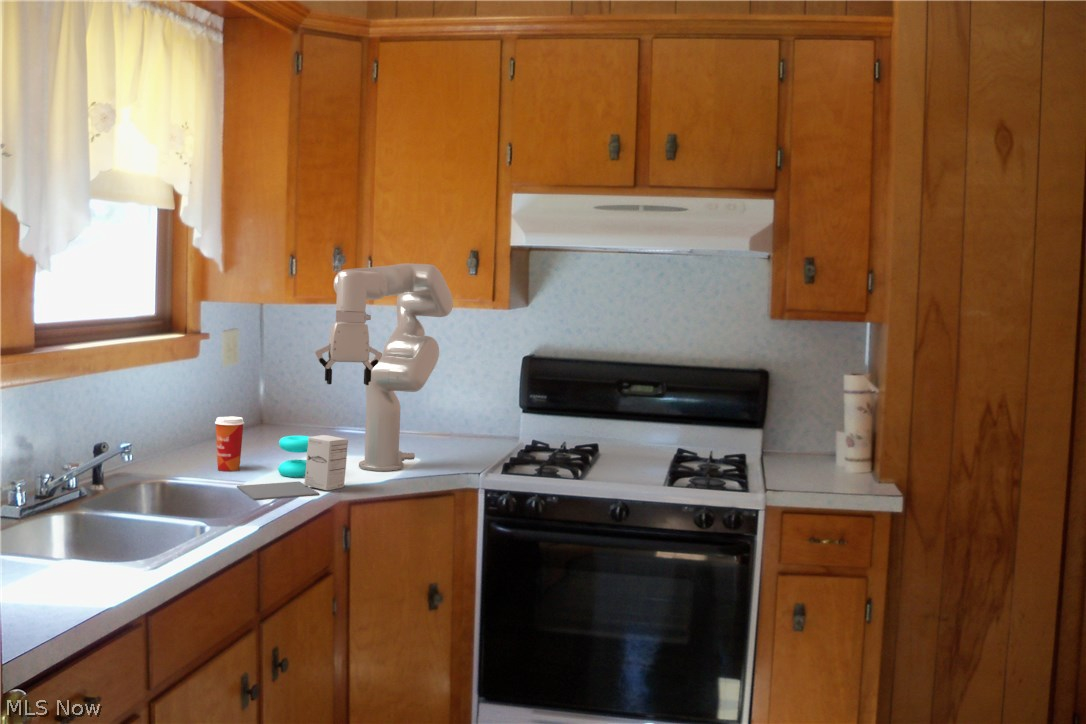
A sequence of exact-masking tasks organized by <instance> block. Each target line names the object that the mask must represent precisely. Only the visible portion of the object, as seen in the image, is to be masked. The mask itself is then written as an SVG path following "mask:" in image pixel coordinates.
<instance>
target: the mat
mask: <svg viewBox="0 0 1086 724" xmlns="http://www.w3.org/2000/svg"><path fill="white" fill-rule="evenodd" d="M236 489H238V490H240V491H241V492H242V493H244V494H245V495H246V496H248V497H249V498H251V499H252V500H253V501H260V500H272V499H274V500H275V499H286V498H296V497H299V498H300V497H308V496H309V497H313V496H320V492H318V491H316V490H314V489H313V488H312V487H310V486H305V483H303V482H301V481H286V482H273V483H272V482H271V483H257V484H245V485H244V484H243V485H237V486H236Z"/></svg>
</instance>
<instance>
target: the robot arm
mask: <svg viewBox="0 0 1086 724" xmlns="http://www.w3.org/2000/svg"><path fill="white" fill-rule="evenodd" d="M333 290H334V292H335V294H336V304H335V305H336V307H335V322H332V323H331V328H330V333H329V339H328V340H329V341H328V344H327V345H325V346H323V347H321V348H319V349H317V350H315V352H314V354H315V356H316V359H317V360H318V362H319V363H320V365H322V367H324V381H325V382H326V384H327V385H332V381H333V379H332V378H333V369H332V366H334V364H335V363H362V364H363V365H364V367H363V384H364V385H365V392H366V395H365V396H366V407H365V410H366V411H365V413H366V414H365V433H364V434H365V435H364V436H365V437H364V438H365V439H364V441H365V442H364V460H361V461H359V462H358V467H359V468H360V469H363V470H367V471H375V472H391V471H392V470H393V471H399V470H402V469H403V468H404V467H405V464H404V461H407V460H408V461H410V460H415V459H416V455H415V452H408V453H407V452H403V451H401V450H400V430H401V428H400V427H401V403H400V401H399V398H398V396H397V395H396V393H395V392H404V393H405V392H407V393H417V392H419V391H420V390H422V388H423V387H424V386H425V384H426V382H427V381H428V380H429V378H430V376H431V374H433V373H432V372H434V371H433V370H434V369H435V367H436V365H437V364H438V361H439V355H440V348H439V344H438V341H437V340H436V339H435V338H434V337H432V336H428V335H426V334H425V333H426V332H425V329H424V327H423V324H422V322H420V320H419V319H418V318H417V317H431V318H433V317H434V318H445V317H447V316H449V315H450V313H451V312H452V310H453V306H454V300H453V295H452V292H451V290H450V288H449V286H448V284H447V282H446V279H445V278H444V275H443V274H442V272H441V271H440V270H439V268H438V267H437V266H435V265H433V264H429V263H428V264H427V263H409V262H407V263H406V262H405V263H397V264H390V265H380V266H370V267H358V268H356V267H355V268H347V269H342V270H340V271H339V272H337V274H336V275H335V277H334V279H333ZM393 296H397V297H396V317H397V327H396V328H395V329H394V331H393V333H392V334H391V336H390V337H389V338H388V339H387V342H386V343H385V345H384V348H383V351H382V352H381V351H378V350H377V349H375V348H373V347H372V346H370V334H369V326H368V324H366V323H367V321H371V319H372V315H371V314H368V313H367V312H366V311H367V309H366V308H367V300H368V301H379V300H381V299H383V298H384V297H393ZM325 353H327V357H328V359H327V361H326V359H325V358H324V357H323V354H325ZM370 353H371V354H373V355H374V356H372V357H370ZM401 468H402V469H401ZM398 469H399V470H398ZM393 471H392V472H393Z"/></svg>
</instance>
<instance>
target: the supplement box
mask: <svg viewBox="0 0 1086 724" xmlns="http://www.w3.org/2000/svg"><path fill="white" fill-rule="evenodd" d="M348 445H349V439H348V438H343V437H338V436H332V435H327V434H320V435H315V436H314V435H313V436H310V437H308V449H307V452H306V460H307V461H306V473H305V477H304V484H305V486H308V487H310V488H314V489H319V490H323V491H331V490H336V489H341V488H345V480H346V469H347V467H346V466H347V459H348V458H347V457H348Z"/></svg>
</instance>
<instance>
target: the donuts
mask: <svg viewBox="0 0 1086 724" xmlns="http://www.w3.org/2000/svg"><path fill="white" fill-rule="evenodd" d="M308 437H311V436H309V435H299V434H298V435H295V434H294V435H286V436H283V437H281V438H280V439H279V441H278V445H279V447H280V449H282V450H283V451H285V452H288V453H307V449H308ZM306 461H307V459H289V460H285V461H283V462H281V463H280V464H279V466H278V469H277V470H278V473H279V474H280V475H281V476H283V477H288V478H305V473H306Z"/></svg>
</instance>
